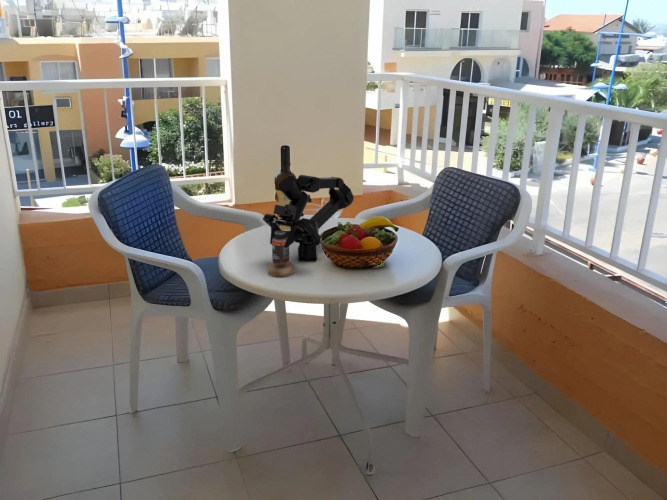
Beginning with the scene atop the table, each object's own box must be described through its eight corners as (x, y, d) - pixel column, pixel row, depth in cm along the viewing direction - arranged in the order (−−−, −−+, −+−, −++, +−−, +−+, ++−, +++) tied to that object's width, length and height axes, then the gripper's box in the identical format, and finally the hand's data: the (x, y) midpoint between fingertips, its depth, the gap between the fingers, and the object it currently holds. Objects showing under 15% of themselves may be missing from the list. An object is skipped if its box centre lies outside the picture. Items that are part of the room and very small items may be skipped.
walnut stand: (295, 267, 207) (295, 261, 206) (292, 277, 199) (292, 271, 198) (271, 267, 208) (270, 260, 207) (266, 277, 200) (266, 270, 199)
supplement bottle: (292, 260, 204) (291, 230, 200) (285, 266, 199) (285, 236, 195) (276, 258, 206) (275, 228, 202) (269, 264, 201) (268, 233, 196)
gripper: (264, 191, 202) (245, 230, 197) (307, 198, 192) (288, 239, 187) (279, 207, 211) (261, 244, 206) (321, 215, 201) (304, 254, 196)
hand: (278, 245), depth 199 cm, fingers closed on supplement bottle, 6 cm apart
